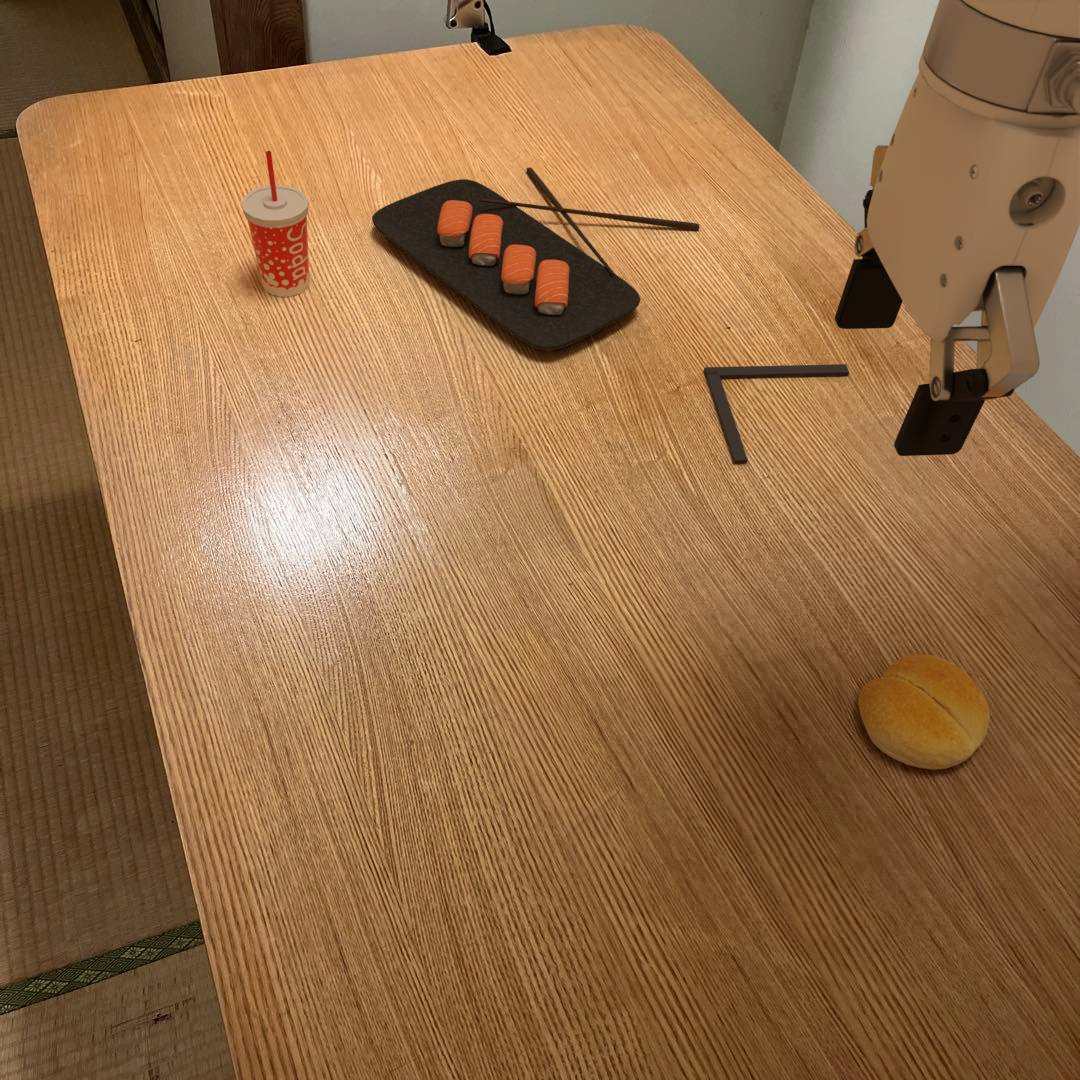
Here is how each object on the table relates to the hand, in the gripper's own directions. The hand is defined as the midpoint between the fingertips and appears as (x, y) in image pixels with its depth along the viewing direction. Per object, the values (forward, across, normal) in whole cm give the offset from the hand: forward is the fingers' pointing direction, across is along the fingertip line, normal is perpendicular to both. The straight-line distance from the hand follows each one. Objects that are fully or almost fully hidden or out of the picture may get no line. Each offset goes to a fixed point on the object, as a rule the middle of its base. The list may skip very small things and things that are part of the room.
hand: (892, 384), depth 55 cm
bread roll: (+30, -2, -11) cm, 32 cm away
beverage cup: (+30, +52, +36) cm, 70 cm away
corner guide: (+30, +30, -11) cm, 44 cm away
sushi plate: (+30, +58, +8) cm, 66 cm away
